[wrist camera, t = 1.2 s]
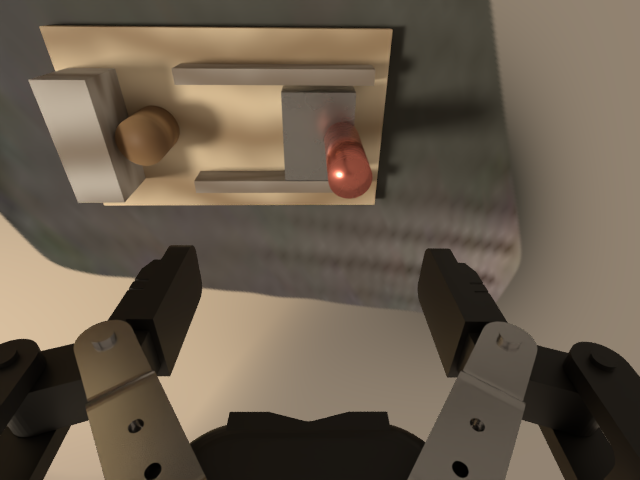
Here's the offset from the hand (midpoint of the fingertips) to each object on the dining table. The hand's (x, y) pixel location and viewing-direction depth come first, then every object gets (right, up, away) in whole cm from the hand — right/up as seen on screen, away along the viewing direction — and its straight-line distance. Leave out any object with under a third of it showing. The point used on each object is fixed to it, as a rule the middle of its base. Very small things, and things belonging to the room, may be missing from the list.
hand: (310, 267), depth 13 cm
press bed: (-8, +12, +22) cm, 26 cm away
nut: (-15, +11, +21) cm, 28 cm away
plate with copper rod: (0, +11, +21) cm, 24 cm away
